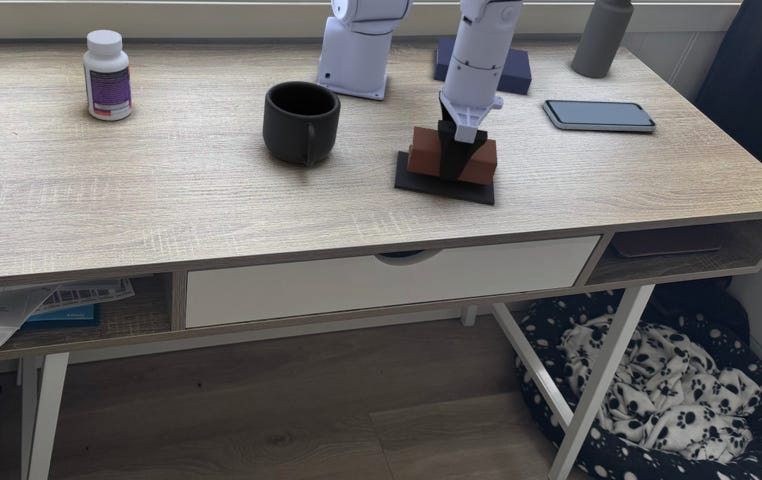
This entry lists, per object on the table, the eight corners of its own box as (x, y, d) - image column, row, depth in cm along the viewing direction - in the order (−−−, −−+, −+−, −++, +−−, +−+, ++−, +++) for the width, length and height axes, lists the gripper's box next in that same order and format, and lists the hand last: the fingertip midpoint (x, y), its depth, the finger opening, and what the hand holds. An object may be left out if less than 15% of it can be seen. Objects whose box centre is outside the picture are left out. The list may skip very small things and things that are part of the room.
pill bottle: (140, 113, 94) (137, 39, 87) (105, 126, 91) (98, 50, 84) (115, 96, 96) (109, 23, 89) (79, 108, 93) (71, 33, 86)
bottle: (578, 58, 121) (614, -37, 111) (612, 70, 119) (652, -25, 109) (565, 69, 118) (601, -28, 107) (600, 81, 115) (640, -16, 105)
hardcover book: (433, 79, 110) (437, 63, 108) (435, 51, 117) (439, 36, 116) (526, 95, 109) (532, 79, 108) (522, 66, 117) (527, 51, 115)
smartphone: (541, 99, 107) (638, 102, 109) (539, 105, 108) (635, 108, 110) (558, 124, 102) (659, 127, 104) (556, 130, 102) (657, 133, 104)
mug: (256, 131, 93) (260, 79, 89) (325, 131, 95) (332, 80, 90) (270, 185, 85) (275, 131, 80) (345, 184, 87) (354, 131, 82)
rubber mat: (394, 187, 88) (394, 185, 87) (398, 153, 93) (398, 150, 93) (494, 205, 87) (494, 202, 87) (491, 169, 93) (492, 167, 93)
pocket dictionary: (407, 170, 87) (412, 149, 85) (409, 147, 91) (414, 125, 89) (490, 185, 87) (497, 164, 85) (489, 161, 91) (495, 140, 89)
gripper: (519, 94, 74) (482, 204, 83) (511, 37, 85) (479, 140, 94) (450, 82, 74) (421, 193, 84) (451, 26, 85) (425, 130, 94)
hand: (448, 164), depth 89 cm, fingers closed on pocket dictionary, 5 cm apart
